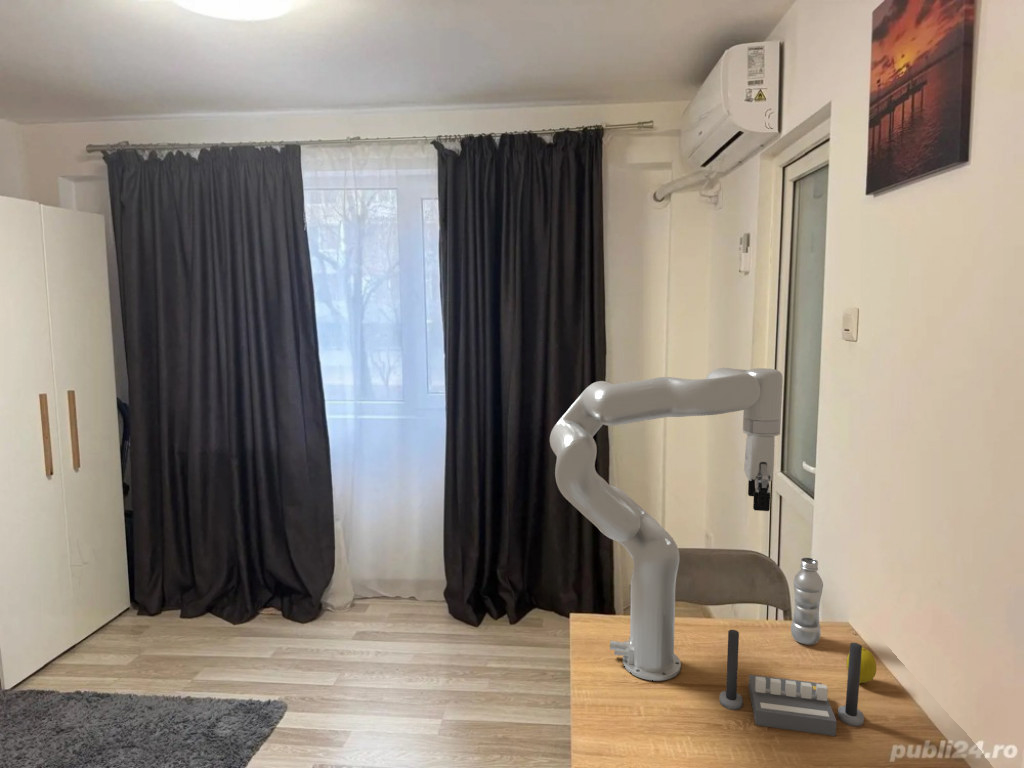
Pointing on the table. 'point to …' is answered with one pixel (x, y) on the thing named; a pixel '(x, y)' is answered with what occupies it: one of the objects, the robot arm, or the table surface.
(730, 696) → the cord post left
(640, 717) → the table surface
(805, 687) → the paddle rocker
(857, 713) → the cord post right
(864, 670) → the lemon
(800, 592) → the plastic bottle
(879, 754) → the table surface
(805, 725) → the breaker panel
